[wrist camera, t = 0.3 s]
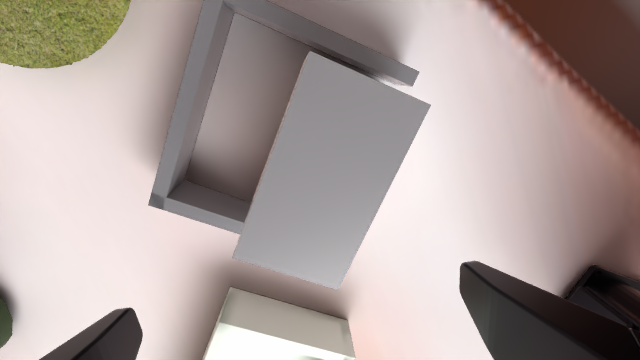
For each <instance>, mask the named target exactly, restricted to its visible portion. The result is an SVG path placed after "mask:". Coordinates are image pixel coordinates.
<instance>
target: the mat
mask: <svg viewBox="0 0 640 360" xmlns="http://www.w3.org/2000/svg"><path fill="white" fill-rule="evenodd" d="M130 2H131V0H0V62H1V63H5V64H9V65H13V66H20V67H25V68H54V67H60V66H64V65H71V64H72V63H73V62H76V61H81V60H82V59H84V58H88V57H89V55H92V54H93V53H94V52H96V51H97V50H99V49H101V47H102V46H103V45H104V44H105V43H106V42H107V40H109V39H110V38H111V37H112V36H113V35H114V34H115V33H116V31H117V30H118V27H119V26H120V24H121V23H122V22H123V20H124V17H125V15H126V13H127V12H126V11H128V8H129V5H130Z"/></svg>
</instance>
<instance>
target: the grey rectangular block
mask: <svg viewBox="0 0 640 360" xmlns="http://www.w3.org/2000/svg"><path fill="white" fill-rule="evenodd" d="M430 106H431V105H430V104H428V103H425V102H423V101H421V100H419V99H417V98H414V97H412V96H410V95H408V94H405V93H403V92H401V91H399V90H396V89H394V88H392V87H390V86H388V85H385V84H383V83H381V82H379V81H376V80H374V79H372V78H370V77H367V76H365V75H363V74H361V73H359V72H356V71H354V70H352V69H350V68H347V67H345V66H343V65H341V64H339V63H336V62H334V61H332V60H330V59H327V58H325V57H323V56H321V55H318V54H316V53H314V52H312V51H309V53H308V54H307V56H306V58H305V59H304V62H303V65H302V68H301V70H300V73H299V76H298V78H297V81H296V84H295V86H294V89H293V92H292V94H291V97H290V100H289V102H288V105H287V108H286V110H285V113H284V116H283V118H282V121H281V124H280V127H279V129H278V132H277V135H276V137H275V140H274V143H273V145H272V148H271V151H270V153H269V156H268V159H267V161H266V164H265V167H264V169H263V172H262V175H261V178H260V180H259V183H258V186H257V188H256V191H255V194H254V197H253V199H252V202H251V205H250V208H249V211H248V214H247V217H246V220H245V223H244V225H243V228H242V231H241V234H240V237H239V240H238V243H237V246H236V248H235V251H234V254H233V257H232V258H233V259H237V260H240V261H243V262H247V263H250V264H253V265H256V266H260V267H263V268H266V269H270V270H273V271H276V272H279V273H283V274H286V275H289V276H293V277H296V278H299V279H302V280H306V281H309V282H312V283H316V284H319V285H322V286H326V287H329V288H332V289H335V290H338V289H339V287H340V285H341V283H342V281H343V279H344V277H345V275H346V273H347V271H348V269H349V267H350V265H351V263H352V261H353V259H354V257H355V255H356V253H357V251H358V249H359V247H360V245H361V243H362V241H363V239H364V237H365V235H366V233H367V231H368V229H369V227H370V225H371V223H372V221H373V219H374V217H375V215H376V213H377V211H378V209H379V207H380V205H381V203H382V201H383V199H384V197H385V195H386V193H387V191H388V189H389V187H390V185H391V183H392V181H393V179H394V177H395V175H396V173H397V172H398V170H399V168H400V166H401V164H402V162H403V160H404V158H405V156H406V154H407V152H408V150H409V148H410V146H411V144H412V142H413V140H414V138H415V136H416V134H417V132H418V130H419V128H420V126H421V124H422V122H423V120H424V118H425V116H426V114H427V112H428V110H429V108H430Z"/></svg>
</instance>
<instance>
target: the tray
mask: <svg viewBox="0 0 640 360" xmlns="http://www.w3.org/2000/svg"><path fill="white" fill-rule="evenodd" d="M355 359H356V357H355V352H354V347H353V342H352V337H351V333H350V328H349V323H348V320H344V319H341V318H337V317H334V316H330V315H327V314H323V313H320V312H316V311H313V310H309V309H306V308H302V307H299V306H295V305H292V304H288V303H285V302H281V301H278V300H274V299H271V298H267V297H264V296H260V295H257V294H253V293H250V292H247V291H243V290H240V289H236V288H233V287H230V288H229V291H228V294H227V296H226V299H225V301H224V304H223V307H222V309H221V312H220V314H219V317H218V320H217V322H216V325H215V327H214V330H213V333H212V335H211V338H210V340H209V343H208V346H207V348H206V351H205V353H204V356H203V359H202V360H355Z"/></svg>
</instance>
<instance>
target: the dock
mask: <svg viewBox="0 0 640 360" xmlns="http://www.w3.org/2000/svg"><path fill="white" fill-rule="evenodd" d="M234 12H236V13H238V14H241V15H243V16H245V17H247V18H250V19H252V20H254V21H256V22H258V23H261V24H263V25H265V26H267V27H269V28H272V29H274V30H276V31H278V32H281V33H283V34H285V35H287V36H289V37H292V38H294V39H296V40H298V41H300V42H303V43H305V44H307V45H309V46H312V47H314V48H316V49H318V50H320V51H323V52H325V53H327V54H329V55H331V56H334V57H336V58H338V59H340V60H343V61H345V62H347V63H349V64H351V65H354V66H356V67H358V68H360V69H362V70H365V71H367V72H369V73H371V74H374V75H376V76H378V77H380V78H382V79H385V80H387V81H389V82H391V83H393V84H396V85H404V86H413V84H414V82H415V80H416V78H417V76H418V74H419V71H417V70H415V69H413V68H410V67H408V66H406V65H404V64H402V63H400V62H398V61H395V60H393V59H391V58H389V57H387V56H385V55H383V54H380V53H378V52H376V51H374V50H372V49H370V48H368V47H366V46H363V45H361V44H359V43H357V42H355V41H353V40H351V39H348V38H346V37H344V36H342V35H340V34H338V33H336V32H333V31H331V30H329V29H327V28H325V27H323V26H321V25H318V24H316V23H314V22H312V21H310V20H308V19H306V18H303V17H301V16H299V15H297V14H295V13H293V12H291V11H289V10H286V9H284V8H282V7H280V6H278V5H276V4H274V3H271V2H269V1H267V0H204V1H203V4H202V8H201V12H200V16H199V19H198V23H197V27H196V30H195V34H194V38H193V41H192V45H191V49H190V53H189V56H188V60H187V64H186V67H185V71H184V75H183V78H182V82H181V86H180V89H179V93H178V97H177V101H176V104H175V108H174V112H173V115H172V119H171V123H170V126H169V130H168V134H167V137H166V141H165V145H164V149H163V152H162V156H161V160H160V163H159V167H158V171H157V174H156V178H155V182H154V186H153V189H152V193H151V197H150V200H149V204H148V205H150V206H153V207H156V208H159V209H162V210H165V211H168V212H171V213H175V214H178V215H181V216H184V217H187V218H190V219H193V220H196V221H200V222H203V223H206V224H209V225H212V226H215V227H218V228H222V229H225V230H228V231H231V232H234V233H237V234H241V231H242V228H243V225H244V223H245V220H246V217H247V214H248V211H249V208H250V205H251V203H250V202H247V201H244V200H241V199H238V198H235V197H232V196H229V195H227V194H224V193H221V192H218V191H215V190H212V189H209V188H206V187H203V186H200V185H197V184H194V183H191V182H188V181H185V180H184V179H185V176H186V172H187V169H188V166H189V162H190V159H191V156H192V152H193V149H194V146H195V142H196V139H197V136H198V132H199V129H200V126H201V122H202V119H203V116H204V112H205V109H206V106H207V102H208V99H209V96H210V92H211V89H212V85H213V82H214V79H215V75H216V72H217V69H218V65H219V62H220V59H221V55H222V52H223V49H224V45H225V42H226V39H227V35H228V32H229V29H230V25H231V22H232V19H233V15H234Z"/></svg>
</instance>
